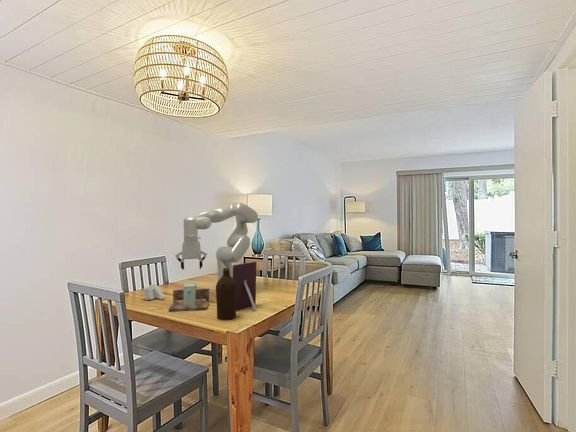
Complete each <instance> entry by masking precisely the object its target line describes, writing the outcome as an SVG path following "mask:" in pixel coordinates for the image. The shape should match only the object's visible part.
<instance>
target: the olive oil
mask: <svg viewBox="0 0 576 432" xmlns="http://www.w3.org/2000/svg"><path fill="white" fill-rule="evenodd" d="M229 269H230V268H228V267H226V268H223V276H222V277H221V278H220V280H219V281H218V280H217V282H216V285H215V295H216V297H215V298H216V318H217V320H219V321H220V320H222V321H228V320H234V319H235V318H236V317H237V311H236V299H237V284H236V281H235V280H234V279H233V278H232V277H231V276H230V270H229Z"/></svg>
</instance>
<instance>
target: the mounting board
mask: <svg viewBox="0 0 576 432" xmlns="http://www.w3.org/2000/svg"><path fill="white" fill-rule="evenodd" d="M172 301H173V302H172V304H171V305H170V307H168V312H169V313H171V312H172V313H174V312H176V313H177V312H194V311H208V308H209V305H210V288H196V304H195V306H184V289H173V290H172Z"/></svg>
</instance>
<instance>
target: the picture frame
mask: <svg viewBox="0 0 576 432" xmlns="http://www.w3.org/2000/svg"><path fill="white" fill-rule="evenodd" d="M232 266H233V279H234V280H235V281H236V284H237V299H236V312H238V311H241V310H243V309H246V308H250V307H252V309H253V310H254V311H253V312H256V311H258V309H257V307H256V297H257V293H256V292H257V261H249V262H243V263H239V264H238V263H237V264H232Z"/></svg>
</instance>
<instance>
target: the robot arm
mask: <svg viewBox="0 0 576 432" xmlns="http://www.w3.org/2000/svg"><path fill="white" fill-rule="evenodd" d="M233 217H235V222H236V226H235V229H234V230H233V231H232V233H231V234H230V235H229V237H228V238H227V241H226V245H227V246H221V247H220V246H219V247H218V248H217V250H216V253H215V256H216V262H217V282H218V281H219V280H220V278H221V277H222V276H223V268H226V267H228V268H230V269H229V270H230V276H231V277H232V278H233V264H235V263H238V262H240V261H241V260H242V258H243V257H244V255H245V253H246V252H247V251H248V249H249V248H250V246H251V239H250V237H249V235H248V231H249V229H248V228H249V227H248V225H247V224H253V223H257V221H258V219H259V215H258V212H257V211H256V210H255V209H254V208H252V207H250V206H248V205H247V204H245V203H242V202H231V203H228V204H226V205H223V206H220V207H218V208H215V209H212V210H209V211H205V212H201V213H199V214H197V215H196V214H195V215H194V216H191V217H184V218H183V241H182V248H181V252H179V253H177V254H176V255H175V257H176V260H177V261H178V262H179V263H180V269H182V271H183V270H185V262H184V261H185V260H194V259H195V260H197V259H198V260H199V270H200V269H202V268H203V261H204V260H205V258H206V257H207V255H208V253H206V252H204V251H202V250H201V243H200V241H199V240H200V239H201V236H199V235H198V233H199V231H198V230H208V229H209V228H210V227H211V226H212V224H216V223H220V222H221V223H222V222H224V221H226V220H228V219H231V218H233ZM202 255H203V257H201V256H202ZM180 256H181V258H180ZM215 298H216V294H215Z"/></svg>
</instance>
